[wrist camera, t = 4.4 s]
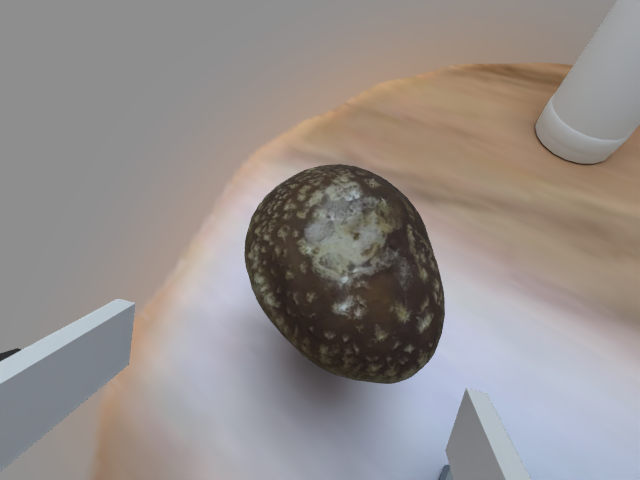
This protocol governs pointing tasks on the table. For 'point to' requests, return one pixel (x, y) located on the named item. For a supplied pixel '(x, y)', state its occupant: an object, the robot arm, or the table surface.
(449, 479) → the gear board
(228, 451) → the table surface
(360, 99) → the table surface
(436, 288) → the mushroom
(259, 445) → the table surface
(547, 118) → the bottle
